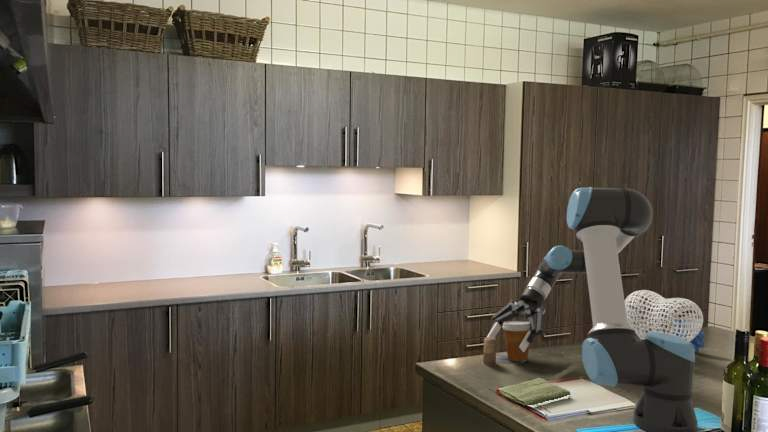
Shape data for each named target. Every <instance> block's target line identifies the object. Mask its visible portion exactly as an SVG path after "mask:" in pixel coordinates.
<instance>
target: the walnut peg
mask: <svg viewBox="0 0 768 432" xmlns="http://www.w3.org/2000/svg"><path fill="white" fill-rule="evenodd" d="M497 342H498V339H497V338H496V337H495V338H491V337H487V336H486V337H485V338H483V356H482V357H483V359H482V360H483V361H482V362H483V364H485V365H484V366H486V365H495V364H496V363H497V361H496V354H497V344H498V343H497ZM483 364H482V365H483Z"/></svg>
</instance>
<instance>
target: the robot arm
mask: <svg viewBox="0 0 768 432" xmlns="http://www.w3.org/2000/svg"><path fill="white" fill-rule="evenodd" d="M653 215H654V212H653V207H652V205H651V203H650V201H649V200H648V198H647V197H646V196H645V195H644V194H642V193H641V192H639V191H638V190H635V189H633V188H627V187H623V188H616V187H614V188H613V187H592V186H588V187H578V188H576V189H575V190H573V192H572V194H571V195H570V197H569V200H568V204H567V209H566V224H567V227H568V228H569V229H571V230H575V234H576V235H575V236H576V238H577V239H578V240H579V241H581V242H582V246H583V250H576V249H575V250H571V249H570V248H568V247H566V246H565V245H556V246H553V247H552V248H551V249H550V250H548V252H547V254H546V255H545V256H544V258H542V260H541V261H540V264H539V266H538V267H537V269H536V271H535V273H534V274H533V276H532V278H531V279H530V280H529V282H528V284H527V285H526V288H525V289H524V290H523V292H522V293H521V296H520V299H519V301H518V302H517V301H514V300H513V299H510V301H509V302H508V303H507V304H506V305H504V306H503V307H502V308H500V310H498V311H497V312H496V313H495V314H493V315H492V316H491V317H490V318H491V320H492V321H493V323H492V325H491V327H490V330H489V332H488V334H487V335H486V338H487V337H491V338H496V336H497V335H498V333H499V331H500V330H501V328H502V326H501V325H503V323H504V322H508V321H512V319H515V318H518V317H520V318H525V319H528V322H529V323H530V327H531V329H530V331H528V332H527V334H526V336H525V337H524V339H523V341H522V342H521V344H520V346H519V348H520V349H521V350H522V352H525V350H526V348H527V347H528V345H529V346H530V344H532V343H533V341H534V339H535V338H536V337H537V336H543V335H544V330H545V329H544V328H545V317H546V314H547V311H546V309H545V307H544V306H543V304H544V302H546V301H545V300H546V299H547V298H548V296H549V294H550V292H551V291H552V289H553V287H554V285H555V284H556V282H557V281H558V280H559V278H560V277H561V276H562V274H586V279H587V288H588V295H589V303H590V311H591V320H592V328H591V329H590V330H589V332H587V338H586V339H584V341H583V342H582V345H581V350H582V351H581V358H582V363H583V367H584V370H585V373H586V375H587V376H588V378H589V380H590V381H591V382H592V383H593V384H596V385H598V386H607V387H612V388H613V387H616V386H617V387H620V386H621V387H642V390H641V393H640V395H639V398H638V401H637V403H636V406H635V408H634V410H633V416H632V417H633V418H632V421H633V423H634V424H635V426H637V427H638V428H640V429H642V430H643V431H645V432H698V424H699V423H698V419H697V415H696V411H695V408H694V404H693V400H692V399H693V398H692V397H693V396H692V395H693V383H694V373H695V362H696V359H695V356H696V353H695V349H694V346H693V345H692V343H690V342H689V341H687V340H685V339H683V338H680V337H677V336H673V335H672V334H671V335H669V334H670V333H669V334H665V332H664V333H658V332H648V331H647V332H646V336H645V335H644V336H645V337H644V338H645V339H640V338H639V339H638V338H637V336H636V335H637V334H636V333H635V330H634V329H633V328H632V327H630V326H629V324H628V322H627V314H626V308H625V293H624V289H623V287H624V286H623V282H622V281H623V280H622V274H621V268H620V267H621V266H620V261H619V259H620V258H619V254H620V253H621V252H622V251H623V249H624V248H625V247H627V245H629V243H630V242H632V240H634V238H635V237H639V236H641V235H643V234H644V233H645V232H646V231H647V230H648V229H649V227H650V226H651V224H652V221H653ZM536 314H537V322H536V321H535V320H536V318H535V315H536Z"/></svg>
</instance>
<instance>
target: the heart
mask: <svg viewBox="0 0 768 432" xmlns="http://www.w3.org/2000/svg"><path fill="white" fill-rule="evenodd" d="M642 297H643V298H642ZM646 299H647V300H646ZM624 301H625V308H626V315H627V322H628V325H629V326H630V327H632V328H633V329H634V330H635V333H636V335H637V336H636V337H638V338H639V339H645V336H646V333H648V332H658V333H665V334H669V335H673V336H676V334H677V333H678V334H679V335H678V336H677V337H680V335H681V334H683V336H682V337H680V338H683V339H687V341H689V342H690V341H691V340H692V339H694V338H695V337H696V336H697V334H698V333H699V332H700V330H701V331H702V328H703V324H704V315H703V314H704V313H703V311H702V310H701V308H700V306H699V305H698V304H697V303H696V302H694V301H692V300H690V299H687V298H683V297H671V298H665V297H663V296H662V295H660V294H659V293H658V292H656V291H655V292H654V291H653V290H652V291H651V290H649V289H648V290H647V289H640V290H636V291H633V292H631V293H630V294H628V295H627V296H626V298H624ZM644 302H645V303H644ZM636 308H637V309H636ZM687 311H688V313H687ZM683 312H684V313H683ZM662 315H663V316H662ZM679 315H680V316H681V317H680V316H679ZM683 315H684V316H683ZM642 317H643V318H642ZM684 319H685V323H684ZM676 320H677V323H676V322H675V321H676ZM688 320H689V321H688ZM679 321H681V323H679ZM690 323H691V324H690ZM694 323H695V324H694ZM674 324H677V327H675V326H674ZM679 324H681V328H679ZM682 324H683V328H682ZM662 325H663V326H662ZM684 325H685V328H684ZM686 325H687V328H686ZM688 325H689V328H688ZM690 325H691V328H690ZM666 326H667V327H666ZM693 326H694V328H693ZM650 329H651V330H650ZM674 329H676V331H674ZM678 329H680V332H678ZM672 330H673V331H672ZM683 330H684V333H682V331H683ZM687 330H688V333H686V332H687ZM689 330H690V331H689ZM691 330H692V333H690V332H691ZM694 330H695V331H694ZM672 332H675V334H673V333H672ZM685 335H687V336H686V337H684V336H685ZM689 335H690V337H689ZM694 335H695V336H694Z"/></svg>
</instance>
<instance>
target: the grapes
mask: <svg viewBox="0 0 768 432" xmlns="http://www.w3.org/2000/svg"><path fill="white" fill-rule="evenodd" d="M688 321H689V319H688ZM674 322H676V323H677V319H675V321H674ZM679 323H681V320H679ZM684 323H685V319H684ZM690 324H691V323H690ZM694 324H695V323H694ZM674 327H677V324H674ZM679 328H681V324H679ZM682 328H683V324H682ZM684 328H685V325H684ZM686 328H687V325H686ZM688 328H689V325H688ZM690 328H691V325H690ZM693 328H694V326H693ZM672 331H673V330H672ZM674 331H676V329H674ZM689 331H690V330H689ZM694 331H695V330H694ZM678 332H680V329H678ZM672 333H673V334H675V332H672ZM682 333H684V330H683V331H682ZM686 333H688V330H687V332H686ZM690 333H692V330H691V332H690ZM678 335H679V334H678V333H677V334H676V336H678ZM682 336H683V334H681V335H680V337H682ZM686 336H687V335H685V336H684V337H686ZM694 336H695V335H694ZM689 337H690V335H689ZM704 338H705V333H704V331H703V330H702V329H701V330H700V332H699V333H698V334H697V336H696V337H695V338H694V339H692V340H691V341H690V343H692V345H693V346H694V349H695V354H697V353H699V351H700V348H701V349H703V348H705V345H706V343H705V341H704V340H703V339H704ZM685 340H687V339H685Z"/></svg>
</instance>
